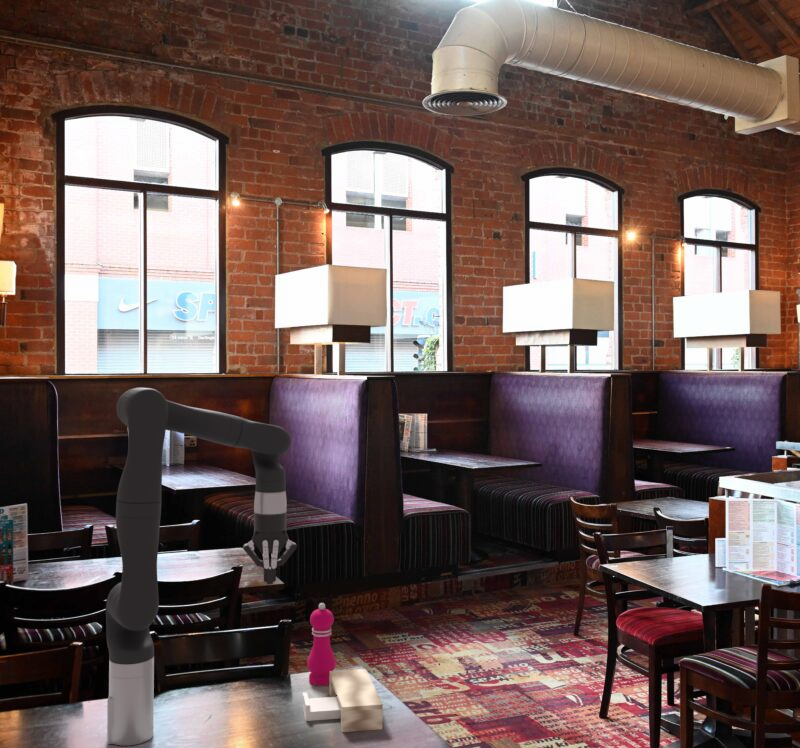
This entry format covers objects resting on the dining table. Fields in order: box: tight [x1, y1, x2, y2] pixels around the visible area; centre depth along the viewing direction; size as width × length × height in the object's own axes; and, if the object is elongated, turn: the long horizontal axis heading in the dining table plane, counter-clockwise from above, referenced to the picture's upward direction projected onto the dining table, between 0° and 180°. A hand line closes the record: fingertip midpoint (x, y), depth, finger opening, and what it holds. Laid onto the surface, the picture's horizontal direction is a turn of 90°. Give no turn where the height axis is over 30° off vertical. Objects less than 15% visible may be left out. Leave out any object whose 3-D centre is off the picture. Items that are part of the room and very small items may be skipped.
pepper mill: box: [306, 602, 337, 687], centre depth 223 cm, size 7×7×20 cm
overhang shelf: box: [328, 668, 384, 733], centre depth 204 cm, size 9×23×6 cm, turn 12°
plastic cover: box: [302, 692, 341, 722], centre depth 203 cm, size 15×8×4 cm, turn 101°
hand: (269, 583), depth 206 cm, fingers closed
